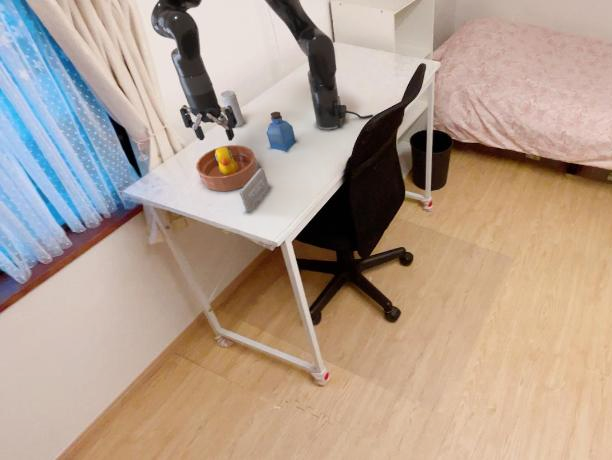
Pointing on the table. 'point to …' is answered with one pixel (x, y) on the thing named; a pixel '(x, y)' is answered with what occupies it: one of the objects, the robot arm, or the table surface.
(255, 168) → the bowl
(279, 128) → the perfume bottle
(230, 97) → the beverage can
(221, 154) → the duckling
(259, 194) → the cassette
